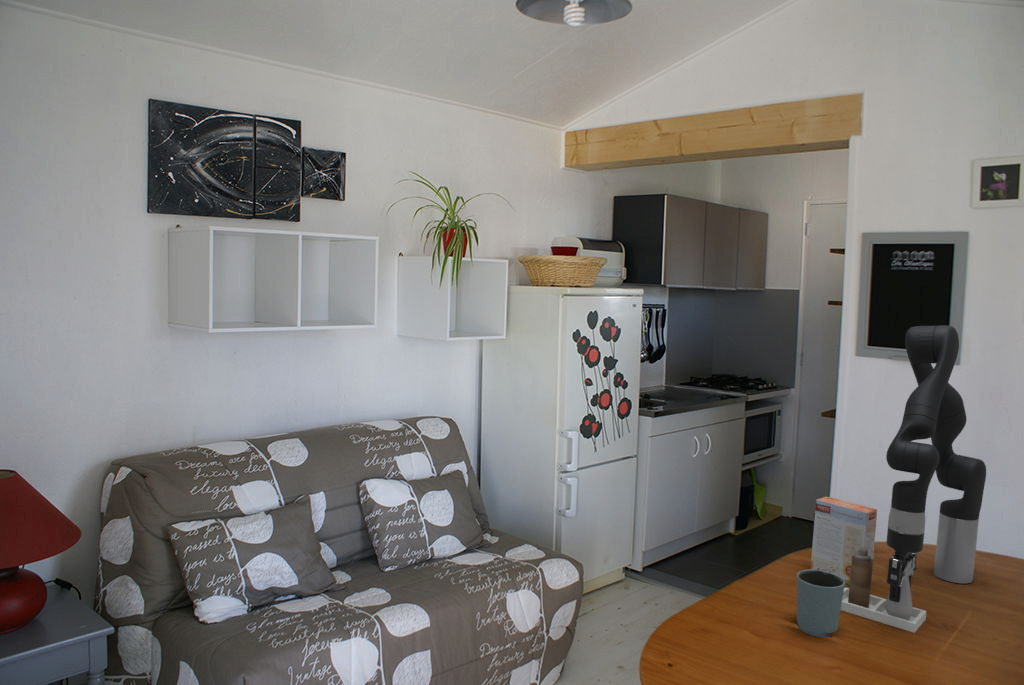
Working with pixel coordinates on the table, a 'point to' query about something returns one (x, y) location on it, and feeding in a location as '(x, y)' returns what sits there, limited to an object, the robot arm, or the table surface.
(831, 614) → the blue-grey cup
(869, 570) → the pepper mill
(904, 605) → the salt shaker
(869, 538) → the cracker box
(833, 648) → the table surface
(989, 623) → the table surface
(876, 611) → the caddy
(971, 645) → the table surface
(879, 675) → the table surface
